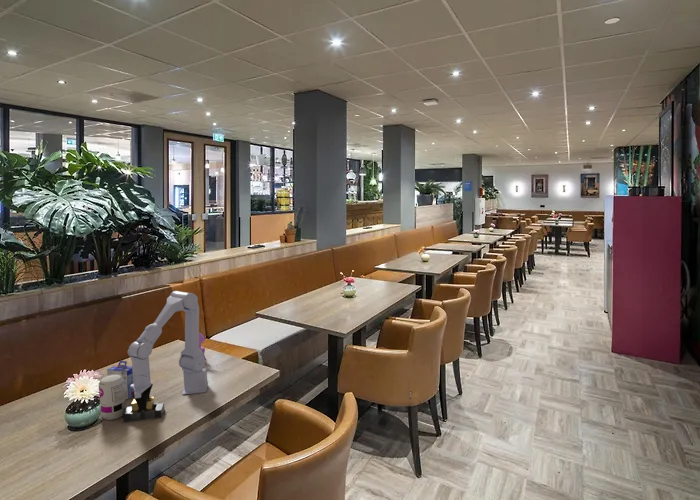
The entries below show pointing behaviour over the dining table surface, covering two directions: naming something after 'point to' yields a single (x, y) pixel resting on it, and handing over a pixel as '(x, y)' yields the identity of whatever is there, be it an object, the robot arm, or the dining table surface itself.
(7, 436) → the dining table surface
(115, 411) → the supplement can
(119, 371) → the ink cartridge box
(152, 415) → the rail
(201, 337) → the toy chair
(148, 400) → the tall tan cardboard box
